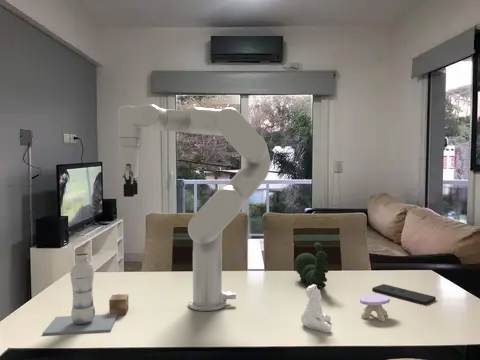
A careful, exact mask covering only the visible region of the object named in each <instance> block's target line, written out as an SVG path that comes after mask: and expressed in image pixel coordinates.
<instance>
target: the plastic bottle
mask: <svg viewBox="0 0 480 360" xmlns="http://www.w3.org/2000/svg"><path fill="white" fill-rule="evenodd" d="M74 257H75V258H74V262H75V264H74V266H72V268H71V271H70V273H69V275H70V282H71V288H72V307H71V313H70V316H71V318H72V321H73V322H74V323H75V324H86V323H89V322H91V321H92V320H93V319H94V317H95V315H96V309H95V305H94V298H93V297H94V296H93V288H94V287H93V286H94V277H95V271H94V268H93V266H92V265H91V264H90V262H89V261H90V254H89V253H88V252H84V253H83V252H81V253H76V254H75V256H74Z"/></svg>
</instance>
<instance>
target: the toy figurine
mask: <svg viewBox="0 0 480 360" xmlns="http://www.w3.org/2000/svg"><path fill="white" fill-rule="evenodd" d="M313 247H314V249H315V250H316V254H315V255H313V254H312V253H309V252H303V253H300V254H299V255H297V256H296V258H295V260H294V268H295V271H296V273H297V274H298V275H299V278H300V282H301V283H303V284H305V285H304V286H305V287H306V288H307V287H308V286H311V285H312V284H314V285H315V284H316V285H317V287H319V288H321V289H323V288H326V286H327V284H326V282H327V281H328V278H327V277H326V274H327V273H329V270H328V268H327V267H326V265H329V262H328V261H327V258H328V254H326V252H325V251H323V245H322V244H321V243H320V242H315V243H314V244H313Z"/></svg>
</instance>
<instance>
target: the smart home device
mask: <svg viewBox="0 0 480 360" xmlns="http://www.w3.org/2000/svg"><path fill="white" fill-rule="evenodd" d="M371 290H372V291H371V292H374V293H378V294H380V295H385V296H388V297H393V298H396V299H400V300H403V301H408V302H412V303H414V302H415V303H416V304H418V303H419V305H422V304H423V305H422V306H427V305H428V304H432V303H434V302H435V301H437V300H436V296H434V295H429V294H426V293H422V292H417V291H414V290H409V289H406V288H401V287H397V286H393V285H390V284H384V283H383V284H380V285H377V286H376V285H375V286H373V287H372V289H371Z"/></svg>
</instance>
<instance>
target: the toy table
mask: <svg viewBox="0 0 480 360" xmlns="http://www.w3.org/2000/svg"><path fill="white" fill-rule="evenodd" d="M359 298H360V299H359V303H360V304H363V305H365V307H364V309H363V312H362V314H361V315H360V318H362V319H363V320H365V319H370V317H371V314H372V312H375V313H376V317H377V320H379V321H380V322H384V323H385V322H386V318H385V316H388V311H387V310H386V309H385V308H384V307H383V305H385V304H389V303H390V302H391V301H390V300H391V296H388V295H385V294H369V295H364V296H361V297H359Z"/></svg>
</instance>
